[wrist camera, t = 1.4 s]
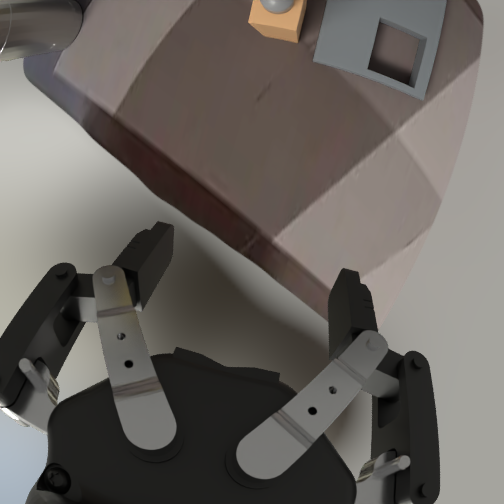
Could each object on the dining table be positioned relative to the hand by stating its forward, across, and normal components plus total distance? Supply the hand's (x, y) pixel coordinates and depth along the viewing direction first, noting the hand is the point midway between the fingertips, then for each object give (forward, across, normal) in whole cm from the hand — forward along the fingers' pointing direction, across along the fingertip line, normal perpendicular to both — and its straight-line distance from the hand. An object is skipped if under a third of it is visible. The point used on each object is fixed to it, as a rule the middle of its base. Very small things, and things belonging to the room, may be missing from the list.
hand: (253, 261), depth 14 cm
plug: (+26, +3, -14) cm, 30 cm away
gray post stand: (+26, -8, -19) cm, 33 cm away
